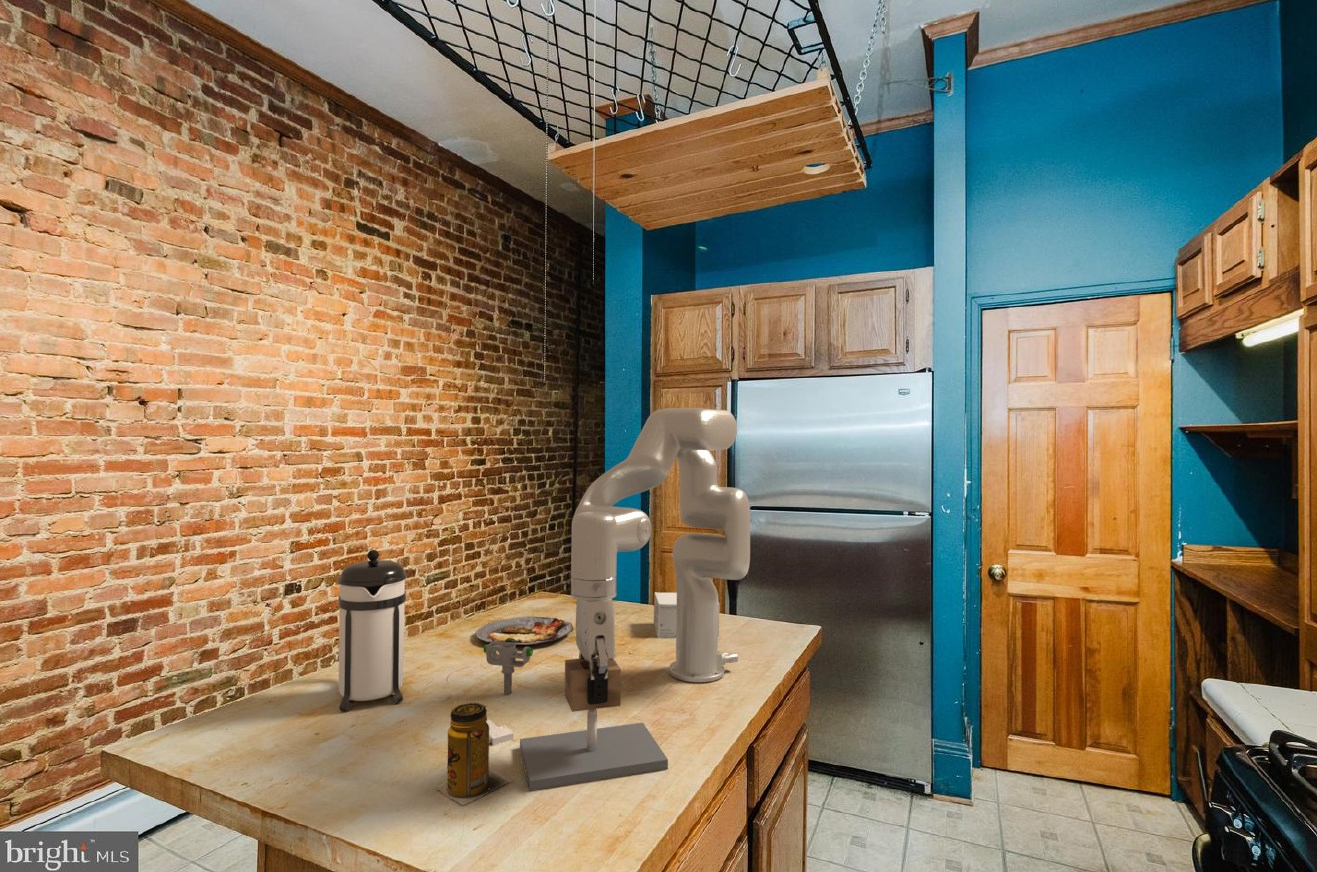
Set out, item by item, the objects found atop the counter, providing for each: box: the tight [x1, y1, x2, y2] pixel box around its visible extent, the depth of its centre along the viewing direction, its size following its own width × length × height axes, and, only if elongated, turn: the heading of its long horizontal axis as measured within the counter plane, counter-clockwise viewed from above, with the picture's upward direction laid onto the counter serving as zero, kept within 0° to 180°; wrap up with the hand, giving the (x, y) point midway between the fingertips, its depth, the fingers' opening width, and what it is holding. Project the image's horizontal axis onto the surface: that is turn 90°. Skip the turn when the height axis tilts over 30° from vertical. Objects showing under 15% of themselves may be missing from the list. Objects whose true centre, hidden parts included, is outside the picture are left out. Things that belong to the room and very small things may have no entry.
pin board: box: [519, 709, 669, 792], centre depth 107 cm, size 22×14×8 cm, turn 108°
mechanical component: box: [483, 642, 534, 696], centre depth 133 cm, size 3×10×10 cm, turn 78°
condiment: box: [435, 702, 511, 806], centre depth 98 cm, size 7×8×12 cm
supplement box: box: [653, 591, 721, 639], centre depth 178 cm, size 17×13×9 cm
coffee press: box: [337, 549, 408, 713], centre depth 131 cm, size 17×16×30 cm
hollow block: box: [564, 656, 622, 713], centre depth 107 cm, size 8×7×6 cm
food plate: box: [475, 615, 574, 646], centre depth 171 cm, size 25×23×4 cm
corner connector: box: [486, 719, 515, 746], centre depth 114 cm, size 8×8×2 cm
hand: (592, 692), depth 107 cm, fingers closed on hollow block, 6 cm apart
